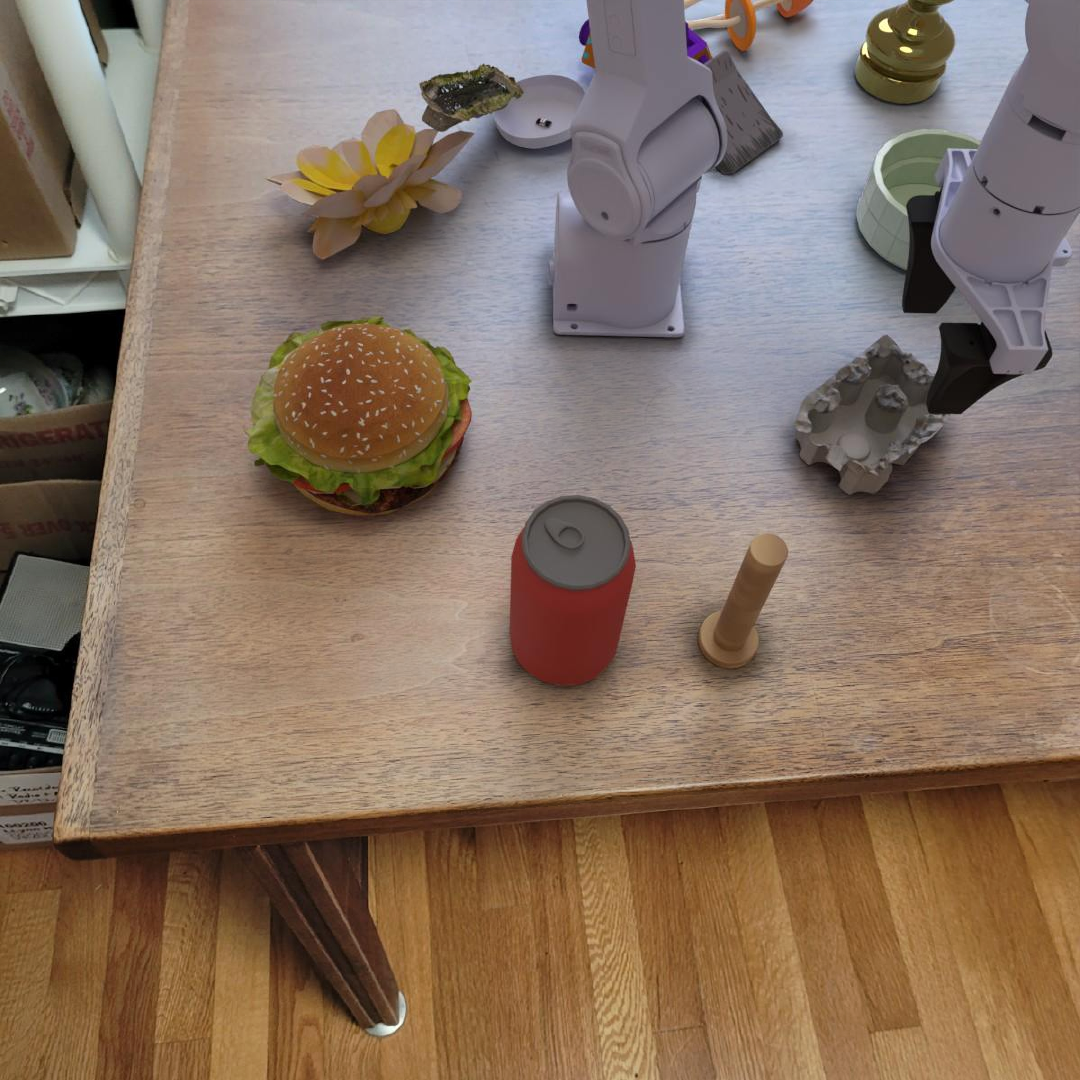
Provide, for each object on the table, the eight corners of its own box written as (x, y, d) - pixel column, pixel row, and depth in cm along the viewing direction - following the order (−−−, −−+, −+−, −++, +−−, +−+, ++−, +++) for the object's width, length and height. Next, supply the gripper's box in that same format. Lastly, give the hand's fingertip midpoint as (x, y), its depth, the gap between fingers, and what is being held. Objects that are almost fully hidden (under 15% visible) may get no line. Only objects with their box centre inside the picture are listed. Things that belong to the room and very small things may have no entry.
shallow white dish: (526, 85, 90) (523, 65, 88) (607, 108, 87) (606, 88, 85) (477, 142, 87) (473, 123, 85) (559, 168, 84) (557, 149, 82)
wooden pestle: (700, 668, 63) (737, 579, 53) (695, 614, 64) (731, 518, 55) (759, 669, 63) (808, 580, 53) (753, 615, 65) (799, 520, 55)
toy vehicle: (722, 182, 84) (741, 6, 71) (546, 71, 93) (535, -104, 80) (793, 130, 87) (823, -49, 74) (615, 27, 96) (615, -149, 83)
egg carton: (859, 511, 69) (879, 477, 65) (774, 441, 71) (788, 404, 68) (956, 425, 73) (979, 388, 69) (871, 362, 75) (889, 323, 72)
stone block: (551, 97, 84) (501, 106, 87) (539, 40, 82) (488, 51, 84) (455, 143, 75) (402, 151, 77) (439, 80, 72) (385, 90, 75)
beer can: (555, 571, 66) (566, 464, 55) (639, 633, 64) (666, 533, 53) (487, 644, 63) (484, 545, 53) (572, 711, 61) (587, 622, 51)
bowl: (866, 279, 79) (887, 230, 75) (844, 178, 85) (863, 126, 81) (1011, 283, 80) (1040, 234, 75) (980, 182, 85) (1005, 131, 81)
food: (331, 336, 75) (314, 253, 68) (503, 412, 72) (504, 334, 65) (215, 476, 68) (183, 400, 61) (399, 566, 65) (387, 497, 59)
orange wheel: (683, 20, 87) (856, -15, 87) (658, -50, 89) (827, -83, 90) (675, 86, 93) (836, 53, 94) (652, 20, 96) (809, -11, 97)
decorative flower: (430, 108, 84) (429, 15, 75) (496, 219, 82) (502, 137, 72) (258, 176, 81) (233, 88, 72) (321, 293, 79) (304, 217, 69)
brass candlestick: (838, 60, 93) (873, -52, 84) (913, 47, 94) (955, -65, 85) (876, 112, 89) (916, 2, 81) (952, 98, 91) (1000, -13, 82)
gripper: (1159, 286, 47) (1027, 458, 59) (1072, 79, 54) (970, 269, 66) (1005, 283, 47) (903, 457, 58) (939, 76, 54) (860, 267, 66)
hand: (931, 357), depth 62 cm, fingers open, 7 cm apart
